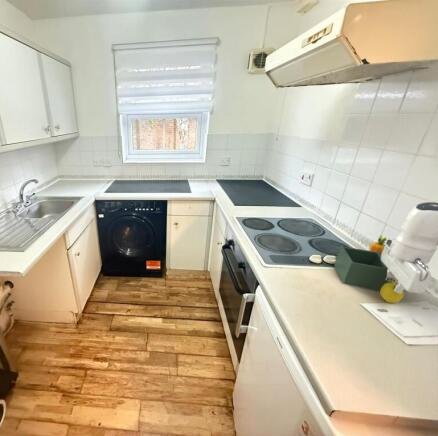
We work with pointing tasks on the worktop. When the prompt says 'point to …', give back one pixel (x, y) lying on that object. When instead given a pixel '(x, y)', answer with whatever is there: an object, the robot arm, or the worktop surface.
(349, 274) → the bin
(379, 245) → the carrot
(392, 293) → the lemon
